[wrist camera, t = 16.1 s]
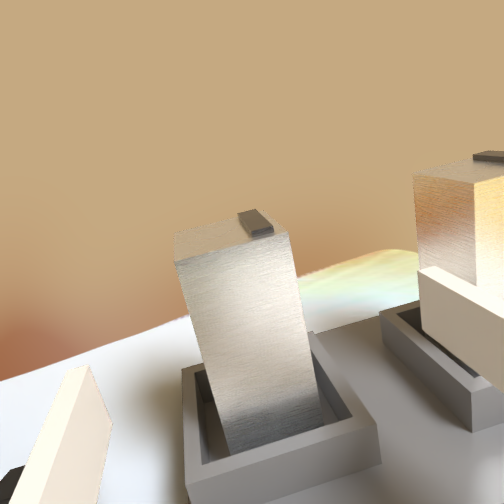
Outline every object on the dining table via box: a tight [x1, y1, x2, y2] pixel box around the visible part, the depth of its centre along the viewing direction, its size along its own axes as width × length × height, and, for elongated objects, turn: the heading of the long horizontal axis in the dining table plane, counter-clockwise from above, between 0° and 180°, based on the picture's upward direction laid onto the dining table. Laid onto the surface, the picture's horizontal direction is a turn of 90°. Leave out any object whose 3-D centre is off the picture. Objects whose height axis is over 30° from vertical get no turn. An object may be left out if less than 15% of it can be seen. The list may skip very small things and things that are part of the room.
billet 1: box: [174, 209, 324, 456], centre depth 21 cm, size 5×5×12 cm
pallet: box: [182, 300, 504, 504], centre depth 24 cm, size 24×16×4 cm, turn 101°
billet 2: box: [412, 151, 504, 378], centre depth 23 cm, size 5×5×12 cm
